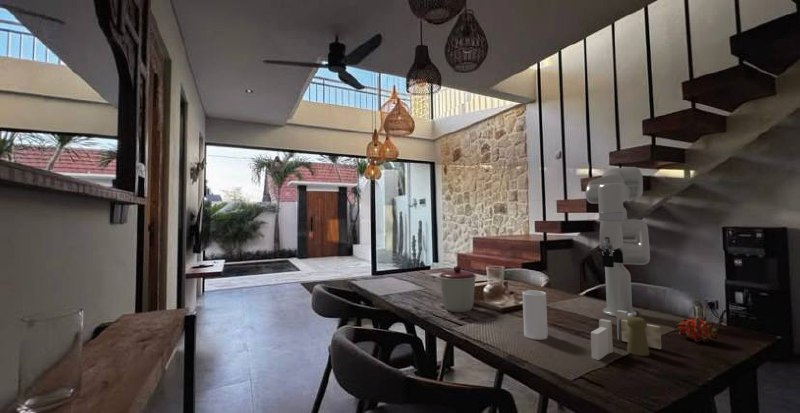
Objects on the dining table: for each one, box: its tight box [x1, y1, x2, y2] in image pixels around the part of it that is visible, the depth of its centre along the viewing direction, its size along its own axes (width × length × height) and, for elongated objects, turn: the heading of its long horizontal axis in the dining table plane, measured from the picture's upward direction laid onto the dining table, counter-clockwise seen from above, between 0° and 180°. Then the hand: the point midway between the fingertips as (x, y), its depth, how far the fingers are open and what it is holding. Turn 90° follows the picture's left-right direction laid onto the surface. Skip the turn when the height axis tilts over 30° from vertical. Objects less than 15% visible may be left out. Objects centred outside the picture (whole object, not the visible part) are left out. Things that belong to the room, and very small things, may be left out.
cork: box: [626, 316, 650, 357], centre depth 110 cm, size 6×6×11 cm
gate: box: [618, 319, 662, 350], centre depth 116 cm, size 12×2×7 cm, turn 42°
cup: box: [522, 289, 549, 341], centre depth 128 cm, size 8×8×16 cm
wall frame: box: [590, 310, 632, 361], centre depth 116 cm, size 31×3×10 cm, turn 129°
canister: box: [438, 265, 478, 313], centre depth 165 cm, size 18×18×21 cm
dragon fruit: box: [673, 316, 720, 343], centre depth 119 cm, size 8×8×12 cm
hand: (613, 264), depth 123 cm, fingers open, 9 cm apart
